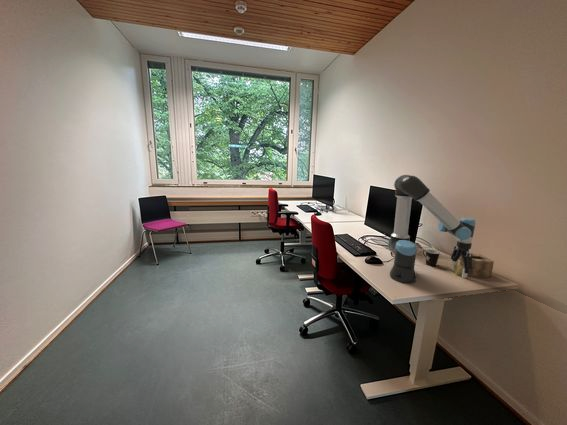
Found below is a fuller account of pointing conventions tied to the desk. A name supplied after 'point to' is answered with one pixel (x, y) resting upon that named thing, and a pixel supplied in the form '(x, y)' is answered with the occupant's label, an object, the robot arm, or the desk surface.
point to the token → (458, 269)
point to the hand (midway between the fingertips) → (458, 273)
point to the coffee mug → (431, 257)
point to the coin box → (480, 266)
